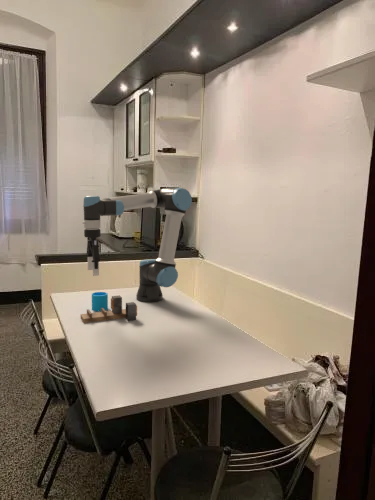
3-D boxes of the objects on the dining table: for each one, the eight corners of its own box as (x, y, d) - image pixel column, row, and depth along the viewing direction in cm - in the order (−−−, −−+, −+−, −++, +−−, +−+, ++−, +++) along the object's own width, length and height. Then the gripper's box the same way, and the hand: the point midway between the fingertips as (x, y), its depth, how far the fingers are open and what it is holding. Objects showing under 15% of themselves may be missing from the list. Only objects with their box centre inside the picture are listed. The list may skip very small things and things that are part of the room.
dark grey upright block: (134, 317, 193) (134, 301, 191) (137, 320, 189) (137, 304, 188) (125, 318, 191) (125, 302, 189) (128, 321, 187) (128, 305, 186)
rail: (128, 312, 200) (128, 293, 199) (132, 316, 194) (132, 297, 192) (80, 318, 190) (80, 298, 188) (83, 322, 183) (83, 302, 182)
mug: (109, 310, 203) (109, 295, 202) (93, 312, 200) (93, 296, 198) (103, 304, 214) (103, 289, 213) (88, 305, 210) (88, 291, 209)
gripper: (80, 226, 195) (81, 268, 198) (88, 231, 172) (90, 278, 176) (95, 226, 198) (96, 267, 201) (105, 231, 175) (106, 277, 179)
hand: (93, 272), depth 189 cm, fingers open, 13 cm apart
